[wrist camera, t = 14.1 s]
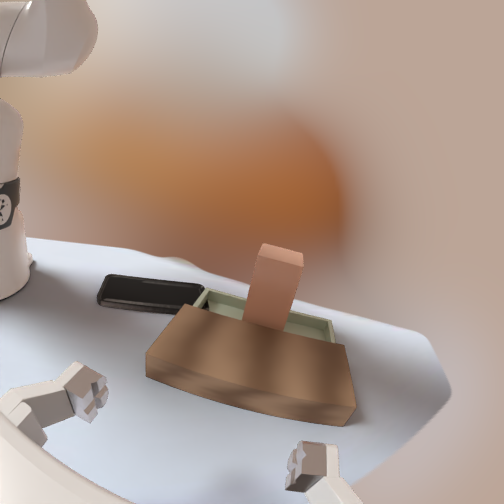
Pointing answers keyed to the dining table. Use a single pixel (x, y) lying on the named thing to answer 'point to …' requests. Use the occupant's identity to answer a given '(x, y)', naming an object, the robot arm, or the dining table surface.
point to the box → (294, 323)
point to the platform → (253, 367)
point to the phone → (148, 294)
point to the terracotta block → (273, 286)
